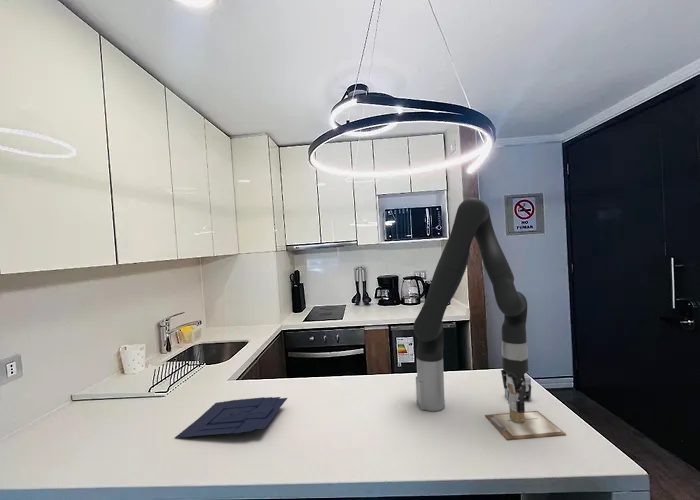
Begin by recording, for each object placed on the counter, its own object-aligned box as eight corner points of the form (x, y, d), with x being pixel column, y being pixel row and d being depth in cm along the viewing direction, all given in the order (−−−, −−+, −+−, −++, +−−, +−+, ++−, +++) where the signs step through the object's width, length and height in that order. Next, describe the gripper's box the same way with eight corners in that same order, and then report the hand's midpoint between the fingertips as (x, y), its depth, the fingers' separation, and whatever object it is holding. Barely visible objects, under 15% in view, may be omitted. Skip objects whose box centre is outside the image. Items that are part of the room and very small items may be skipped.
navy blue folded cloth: (263, 440, 104) (261, 428, 104) (175, 446, 109) (173, 435, 109) (290, 402, 128) (289, 392, 128) (217, 409, 133) (215, 399, 133)
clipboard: (507, 440, 100) (506, 434, 100) (485, 416, 114) (484, 411, 114) (566, 435, 102) (566, 429, 101) (537, 411, 115) (537, 407, 115)
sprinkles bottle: (514, 413, 113) (513, 372, 112) (528, 419, 109) (526, 377, 109) (506, 417, 110) (504, 376, 110) (519, 424, 106) (518, 380, 106)
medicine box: (526, 396, 127) (526, 372, 127) (531, 401, 123) (531, 377, 123) (504, 396, 128) (503, 372, 128) (508, 401, 124) (508, 377, 123)
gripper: (492, 348, 116) (494, 399, 116) (515, 363, 102) (517, 421, 102) (514, 347, 116) (515, 397, 117) (539, 362, 102) (541, 419, 103)
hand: (516, 408), depth 110 cm, fingers closed on sprinkles bottle, 4 cm apart
